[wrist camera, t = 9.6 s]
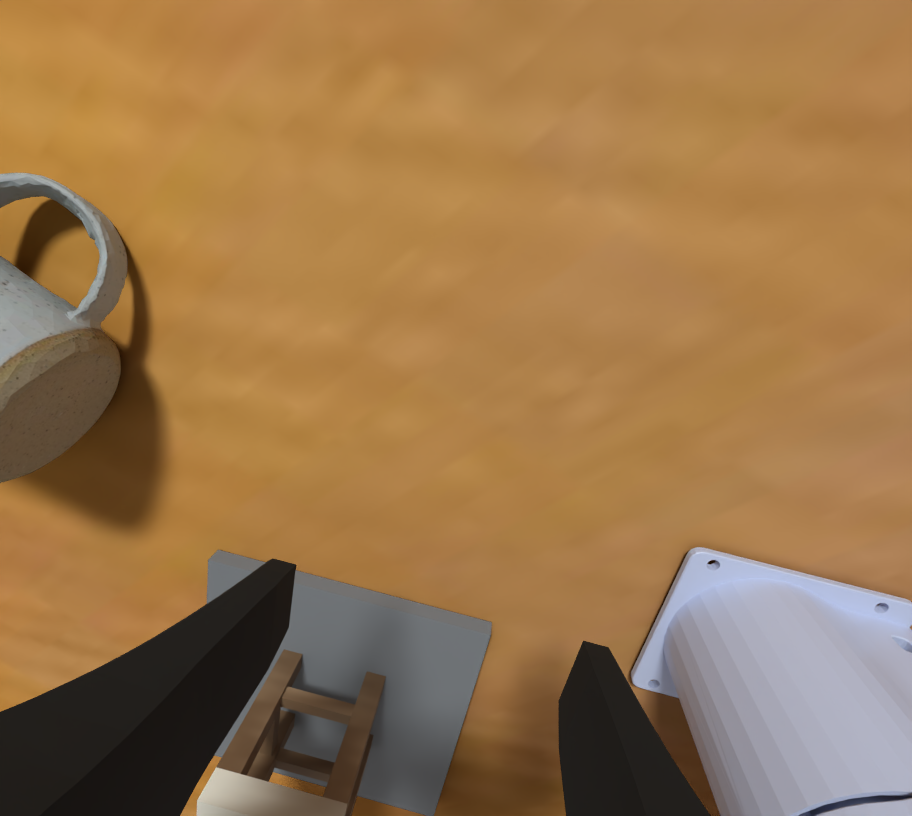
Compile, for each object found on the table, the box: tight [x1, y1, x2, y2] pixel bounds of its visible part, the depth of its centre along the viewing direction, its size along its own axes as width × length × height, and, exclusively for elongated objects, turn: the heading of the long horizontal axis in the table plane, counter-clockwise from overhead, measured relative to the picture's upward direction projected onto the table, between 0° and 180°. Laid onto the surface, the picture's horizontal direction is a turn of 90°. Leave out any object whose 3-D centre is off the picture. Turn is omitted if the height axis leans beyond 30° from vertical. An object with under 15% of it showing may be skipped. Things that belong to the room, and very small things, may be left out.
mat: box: [207, 550, 492, 816], centre depth 25 cm, size 14×14×1 cm
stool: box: [197, 649, 386, 816], centre depth 22 cm, size 5×5×7 cm
